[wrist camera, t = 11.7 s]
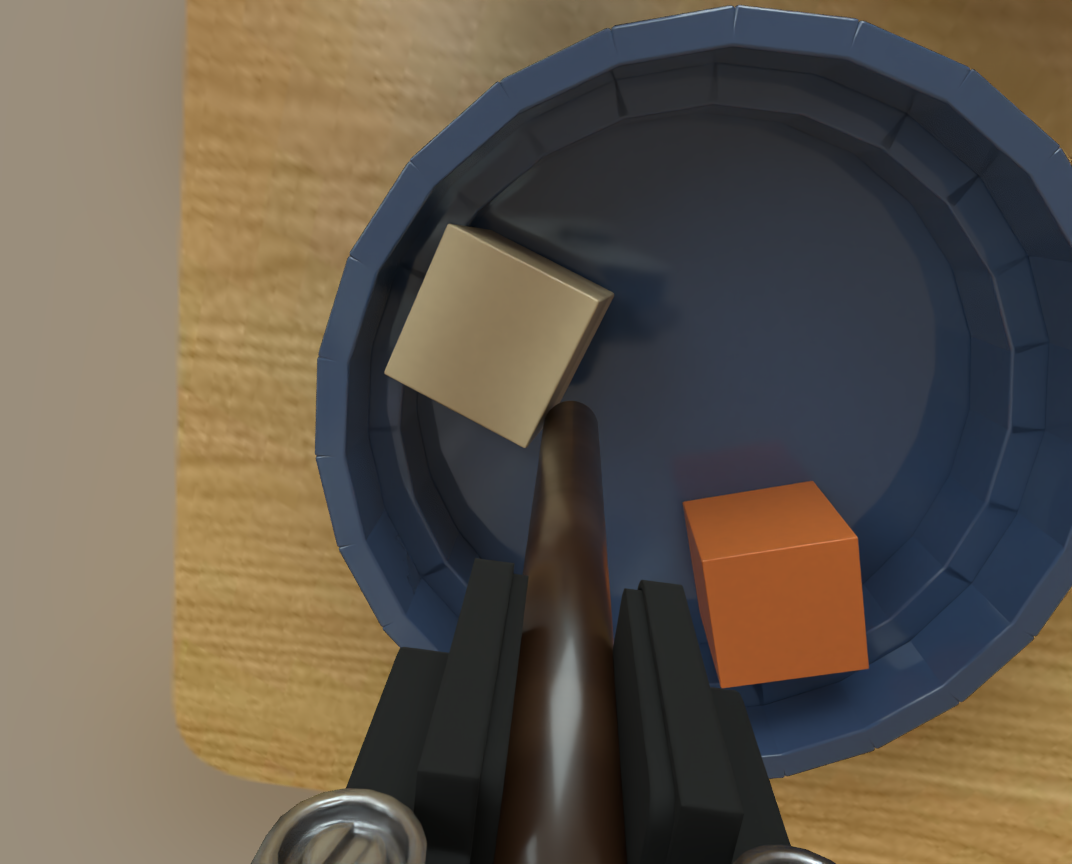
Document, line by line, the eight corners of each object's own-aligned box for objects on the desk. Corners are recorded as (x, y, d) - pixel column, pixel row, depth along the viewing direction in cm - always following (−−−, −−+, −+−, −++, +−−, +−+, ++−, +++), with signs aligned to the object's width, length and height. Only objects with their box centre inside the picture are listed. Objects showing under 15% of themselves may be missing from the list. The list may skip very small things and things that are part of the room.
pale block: (433, 354, 23) (382, 374, 19) (489, 229, 22) (447, 222, 18) (552, 417, 22) (525, 449, 19) (615, 293, 21) (600, 300, 17)
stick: (542, 441, 20) (435, 1219, 5) (547, 391, 20) (446, 1088, 5) (594, 446, 20) (637, 1244, 5) (600, 396, 20) (665, 1113, 5)
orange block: (699, 613, 25) (720, 689, 21) (682, 501, 24) (701, 560, 20) (824, 594, 24) (869, 669, 21) (813, 479, 23) (858, 536, 20)
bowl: (355, 636, 27) (307, 734, 22) (384, 9, 21) (326, -44, 16) (918, 710, 26) (993, 825, 22) (1116, 94, 20) (1281, 65, 16)
